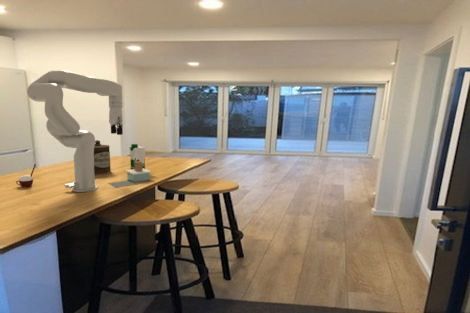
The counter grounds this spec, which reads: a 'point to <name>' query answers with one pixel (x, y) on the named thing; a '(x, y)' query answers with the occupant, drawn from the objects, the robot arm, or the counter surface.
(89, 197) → the counter surface
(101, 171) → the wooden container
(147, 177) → the dish
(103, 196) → the counter surface
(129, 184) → the mat
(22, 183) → the cocoa
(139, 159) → the milk carton
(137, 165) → the lid
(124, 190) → the counter surface
